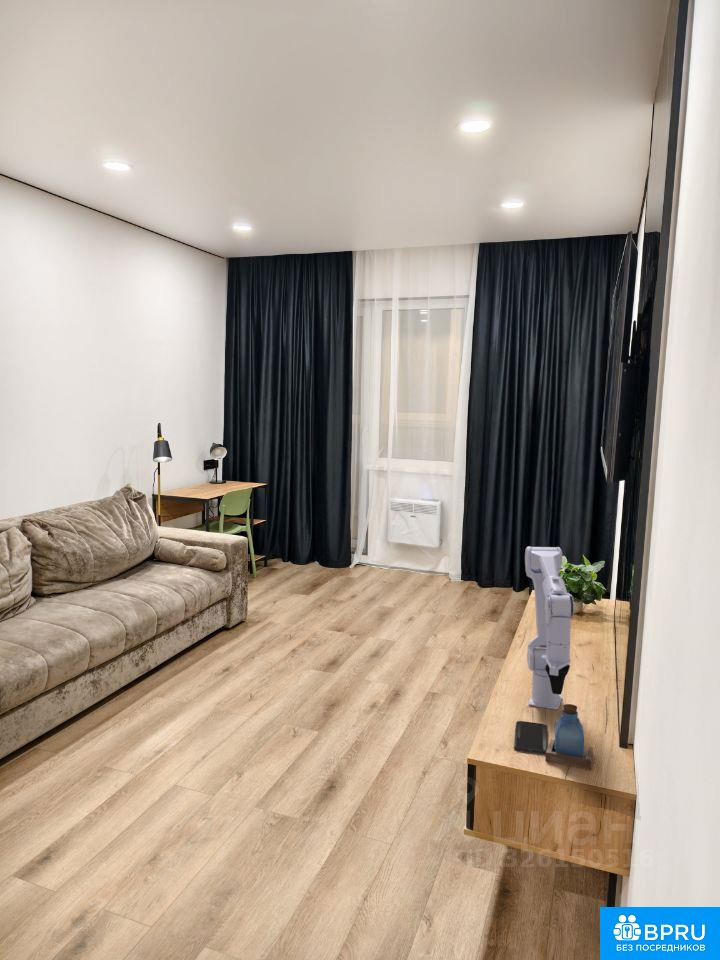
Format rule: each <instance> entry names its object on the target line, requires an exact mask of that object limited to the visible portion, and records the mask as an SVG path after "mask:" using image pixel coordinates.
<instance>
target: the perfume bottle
mask: <svg viewBox="0 0 720 960" xmlns="http://www.w3.org/2000/svg"><path fill="white" fill-rule="evenodd" d="M562 708H563V709H562V715H560V716H559V718H557V721H556V722H555V731H554V733H555V734H554V740H555V748H554V752H557V753H562V754H567V755H572V756H577V757H582V758H585V735H584V728H583V727H584V726H583V724H582V723H581V722H582V721H581V720H580V719H579V712H578V706H577V705H575V704H571V703H565V704H563V706H562Z"/></svg>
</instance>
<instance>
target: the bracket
mask: <svg viewBox="0 0 720 960" xmlns="http://www.w3.org/2000/svg"><path fill="white" fill-rule="evenodd" d="M593 758H594V747H593V746H588V750H587V753H586V757H584V758H582V757H577V756H572V755H567V754H562V753H557V752H555V738H554V739H553V738H550V740H549V742H548V744H547V750H546V754H545V759H544V760H545V761H546V762H549V763H550V762H551V763H556V764H559V765H560V764H561V765H566V766H569V767H574V766H576V768H579V769H584V768H585V770H589V771H592V762H593Z"/></svg>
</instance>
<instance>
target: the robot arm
mask: <svg viewBox="0 0 720 960" xmlns="http://www.w3.org/2000/svg"><path fill="white" fill-rule="evenodd" d="M524 564H525V565H524V566H525V573H526V577H528V578H530V579H531V580H532V583H533V587H534V589H533V590H534V605H535V620H536V623H535V624H536V626H535V628H536V636H535V637H534V638H533V639H531V640H530V641H528V644H527V655H526V661H527V667H528V669H529V671H531V672H532V681H531V683H532V684H531V686H532V687H531V690H532V691H531V696H530V700H529V701H528V706H533V707H539V708H543V709H549V710H555V711H558V710H559V708H560V705H561V702H562V699H563V696H562V692H563V689H564V686H565V679H566V677H567V675H568V673H569V670H570V668H571V658H570V657H571V623H572V621H571V619H572V618H573V617H574V613H575V602H574V597H573V595H572V594H570V592H569V593H568V592H567V591H568V590H567V587H566V584H565V581H564V579H563V578H562V577H561V576H559V574H560V572H561V568H562V566H563V551H562V549H561V547H559V546H556V547H555V546H554V547H553V546H552V547H551V546H530V545H529V546H527V547H526V548H525V552H524Z"/></svg>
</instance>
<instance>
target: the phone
mask: <svg viewBox="0 0 720 960" xmlns="http://www.w3.org/2000/svg"><path fill="white" fill-rule="evenodd" d="M514 731H515V733H514V743H513V749H514V750H515V751H517V752H521V753H522V752H523V753H529V754H537V755H546V750H547V748H548V725H547V724H545V723H542V722H541V723H540V722H532V721H524V720H517V721H516V722H515V729H514Z"/></svg>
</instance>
